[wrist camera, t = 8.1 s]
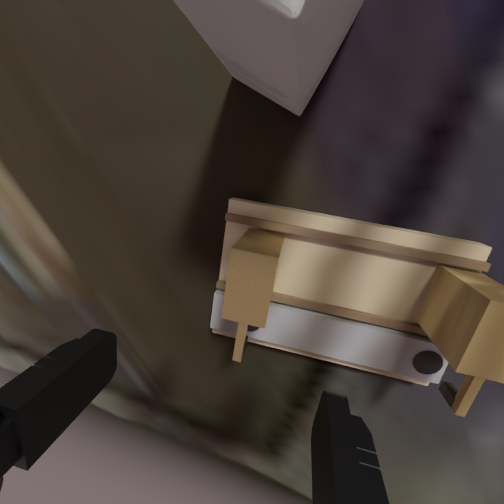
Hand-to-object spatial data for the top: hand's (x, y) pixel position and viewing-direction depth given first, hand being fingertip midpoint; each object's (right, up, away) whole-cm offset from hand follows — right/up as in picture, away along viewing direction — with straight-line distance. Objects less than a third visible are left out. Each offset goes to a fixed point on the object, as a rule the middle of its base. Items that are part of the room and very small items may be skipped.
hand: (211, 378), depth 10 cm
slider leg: (+2, +3, +13) cm, 14 cm away
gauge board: (+9, +1, +14) cm, 17 cm away
